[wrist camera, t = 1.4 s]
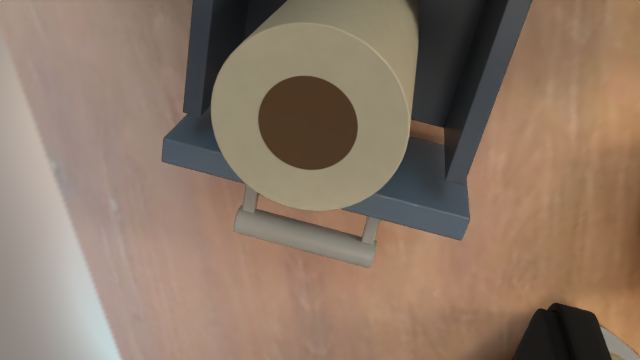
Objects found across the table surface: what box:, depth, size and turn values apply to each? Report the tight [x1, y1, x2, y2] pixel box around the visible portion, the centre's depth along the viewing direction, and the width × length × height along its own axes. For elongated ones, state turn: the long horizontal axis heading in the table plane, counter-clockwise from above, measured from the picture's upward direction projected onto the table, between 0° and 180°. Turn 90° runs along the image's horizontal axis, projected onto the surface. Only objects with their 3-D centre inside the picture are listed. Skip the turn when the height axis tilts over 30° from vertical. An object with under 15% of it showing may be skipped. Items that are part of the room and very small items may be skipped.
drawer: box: [162, 0, 532, 268], centre depth 27 cm, size 17×13×7 cm
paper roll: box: [211, 0, 421, 211], centre depth 22 cm, size 6×6×12 cm
